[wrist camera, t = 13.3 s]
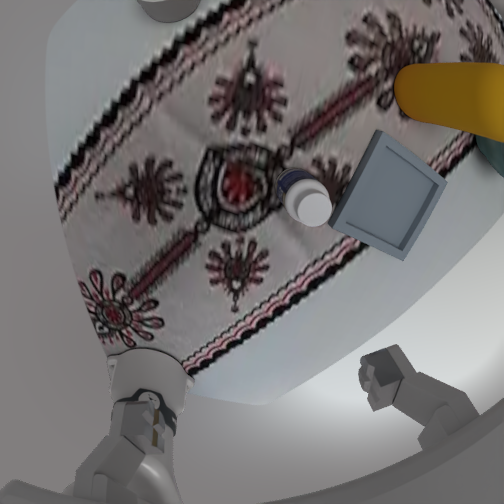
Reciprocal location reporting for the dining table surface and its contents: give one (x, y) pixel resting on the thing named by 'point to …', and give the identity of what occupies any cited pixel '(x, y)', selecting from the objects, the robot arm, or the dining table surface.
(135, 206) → the dining table surface
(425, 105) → the beer bottle
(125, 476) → the robot arm
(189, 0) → the cup
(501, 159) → the flower pot
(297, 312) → the dining table surface
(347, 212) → the dish
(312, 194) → the pill bottle
